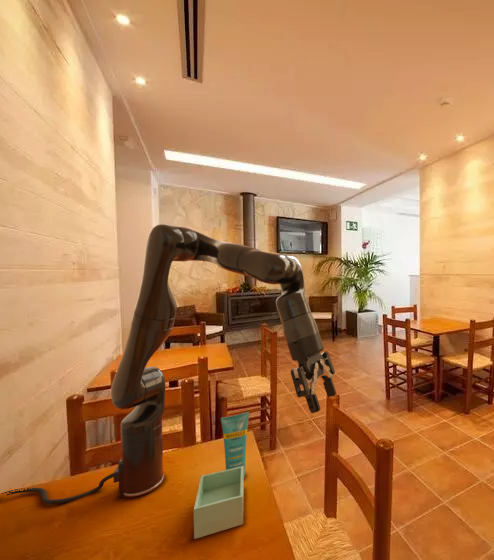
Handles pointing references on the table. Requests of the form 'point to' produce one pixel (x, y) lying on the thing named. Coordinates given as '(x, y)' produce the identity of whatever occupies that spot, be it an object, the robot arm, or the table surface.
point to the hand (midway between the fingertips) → (324, 403)
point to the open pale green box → (219, 502)
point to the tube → (235, 440)
